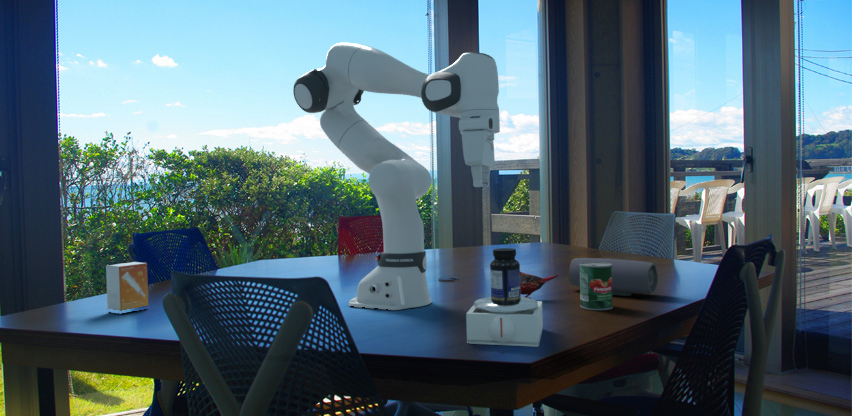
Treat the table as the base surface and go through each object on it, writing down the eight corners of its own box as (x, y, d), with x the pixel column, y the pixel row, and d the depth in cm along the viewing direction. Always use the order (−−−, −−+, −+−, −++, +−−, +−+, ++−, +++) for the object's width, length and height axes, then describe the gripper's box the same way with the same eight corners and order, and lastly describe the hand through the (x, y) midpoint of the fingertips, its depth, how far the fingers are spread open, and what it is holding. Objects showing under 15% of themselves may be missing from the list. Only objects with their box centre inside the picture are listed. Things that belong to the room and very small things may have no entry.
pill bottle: (519, 298, 118) (518, 247, 118) (522, 304, 112) (521, 250, 111) (490, 299, 118) (489, 247, 118) (491, 305, 112) (490, 251, 112)
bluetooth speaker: (567, 292, 161) (567, 258, 161) (581, 287, 168) (580, 254, 168) (647, 300, 146) (647, 263, 146) (659, 295, 153) (658, 259, 153)
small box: (120, 315, 146) (118, 266, 146) (107, 313, 149) (104, 265, 149) (149, 309, 153) (147, 262, 153) (136, 307, 156) (133, 261, 156)
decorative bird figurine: (498, 301, 150) (497, 265, 150) (556, 296, 155) (555, 260, 155) (503, 303, 147) (502, 266, 147) (561, 298, 153) (561, 262, 152)
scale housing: (466, 344, 110) (465, 314, 109) (478, 326, 124) (478, 299, 124) (538, 347, 106) (537, 316, 106) (542, 328, 120) (542, 301, 120)
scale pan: (469, 326, 111) (469, 307, 110) (480, 312, 123) (479, 295, 123) (535, 329, 107) (535, 309, 107) (539, 314, 120) (539, 296, 120)
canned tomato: (590, 302, 146) (589, 261, 145) (618, 306, 140) (617, 263, 140) (574, 307, 140) (573, 264, 140) (602, 312, 135) (601, 267, 134)
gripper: (474, 130, 135) (475, 187, 135) (456, 121, 115) (458, 187, 116) (499, 129, 133) (501, 186, 134) (486, 119, 114) (488, 186, 114)
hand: (481, 187), depth 124 cm, fingers open, 8 cm apart
